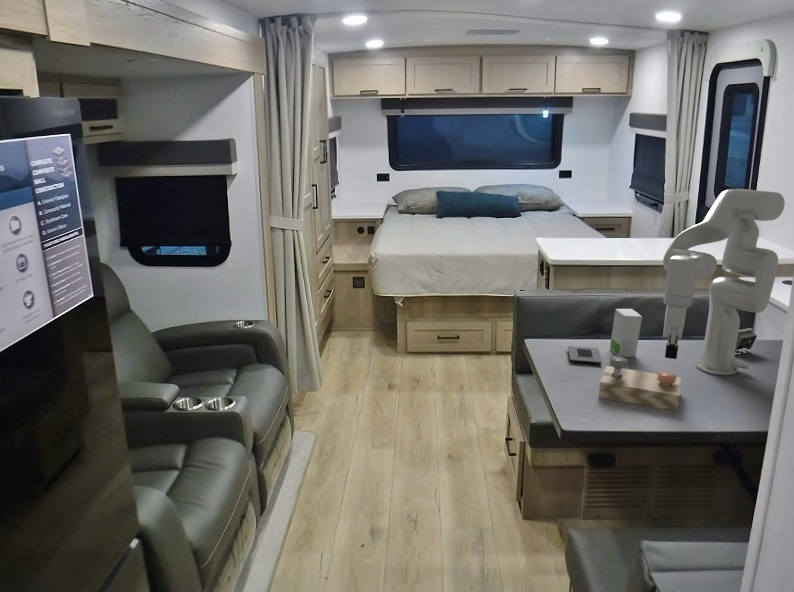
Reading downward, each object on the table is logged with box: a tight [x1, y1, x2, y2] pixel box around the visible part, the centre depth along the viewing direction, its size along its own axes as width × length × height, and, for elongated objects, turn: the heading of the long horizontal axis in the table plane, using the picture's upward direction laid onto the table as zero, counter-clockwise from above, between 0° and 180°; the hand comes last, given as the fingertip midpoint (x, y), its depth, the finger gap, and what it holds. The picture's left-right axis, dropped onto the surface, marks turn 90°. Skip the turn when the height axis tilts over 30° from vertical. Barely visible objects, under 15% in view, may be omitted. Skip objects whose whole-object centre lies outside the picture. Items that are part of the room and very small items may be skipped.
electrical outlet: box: [567, 345, 603, 365], centre depth 225 cm, size 13×10×2 cm
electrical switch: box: [735, 327, 758, 352], centre depth 230 cm, size 9×5×9 cm, turn 113°
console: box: [598, 365, 682, 412], centre depth 195 cm, size 22×14×5 cm, turn 66°
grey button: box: [609, 356, 628, 378], centre depth 197 cm, size 5×5×6 cm
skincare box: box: [609, 308, 643, 358], centre depth 228 cm, size 8×7×16 cm
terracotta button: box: [657, 371, 677, 386], centre depth 192 cm, size 5×5×6 cm
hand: (670, 357), depth 190 cm, fingers closed
